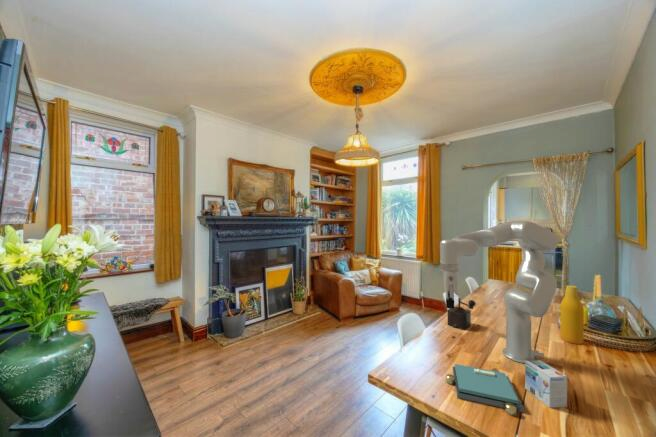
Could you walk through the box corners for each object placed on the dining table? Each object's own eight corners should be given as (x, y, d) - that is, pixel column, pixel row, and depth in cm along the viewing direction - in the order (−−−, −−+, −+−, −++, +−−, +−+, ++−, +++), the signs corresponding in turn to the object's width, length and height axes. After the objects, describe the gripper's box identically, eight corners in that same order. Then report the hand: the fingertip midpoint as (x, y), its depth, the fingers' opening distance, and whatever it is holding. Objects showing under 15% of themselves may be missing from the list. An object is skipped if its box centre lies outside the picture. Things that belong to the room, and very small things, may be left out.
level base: (505, 377, 108) (505, 371, 108) (526, 419, 85) (526, 411, 85) (444, 365, 116) (444, 360, 116) (448, 401, 93) (448, 394, 93)
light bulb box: (524, 388, 101) (524, 360, 101) (540, 387, 101) (540, 359, 101) (550, 408, 90) (550, 377, 90) (568, 407, 91) (568, 376, 91)
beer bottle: (556, 338, 142) (556, 285, 142) (564, 335, 147) (565, 283, 147) (579, 346, 134) (579, 289, 134) (586, 342, 138) (587, 287, 138)
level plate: (504, 376, 105) (504, 369, 105) (518, 404, 89) (518, 396, 89) (454, 366, 111) (454, 360, 111) (459, 391, 95) (459, 384, 95)
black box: (446, 325, 160) (446, 296, 160) (453, 320, 167) (453, 292, 167) (474, 333, 149) (474, 301, 148) (480, 328, 156) (480, 297, 156)
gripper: (461, 270, 110) (462, 314, 110) (456, 264, 124) (457, 303, 124) (441, 270, 113) (442, 312, 113) (439, 264, 127) (439, 302, 127)
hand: (450, 307), depth 119 cm, fingers closed
